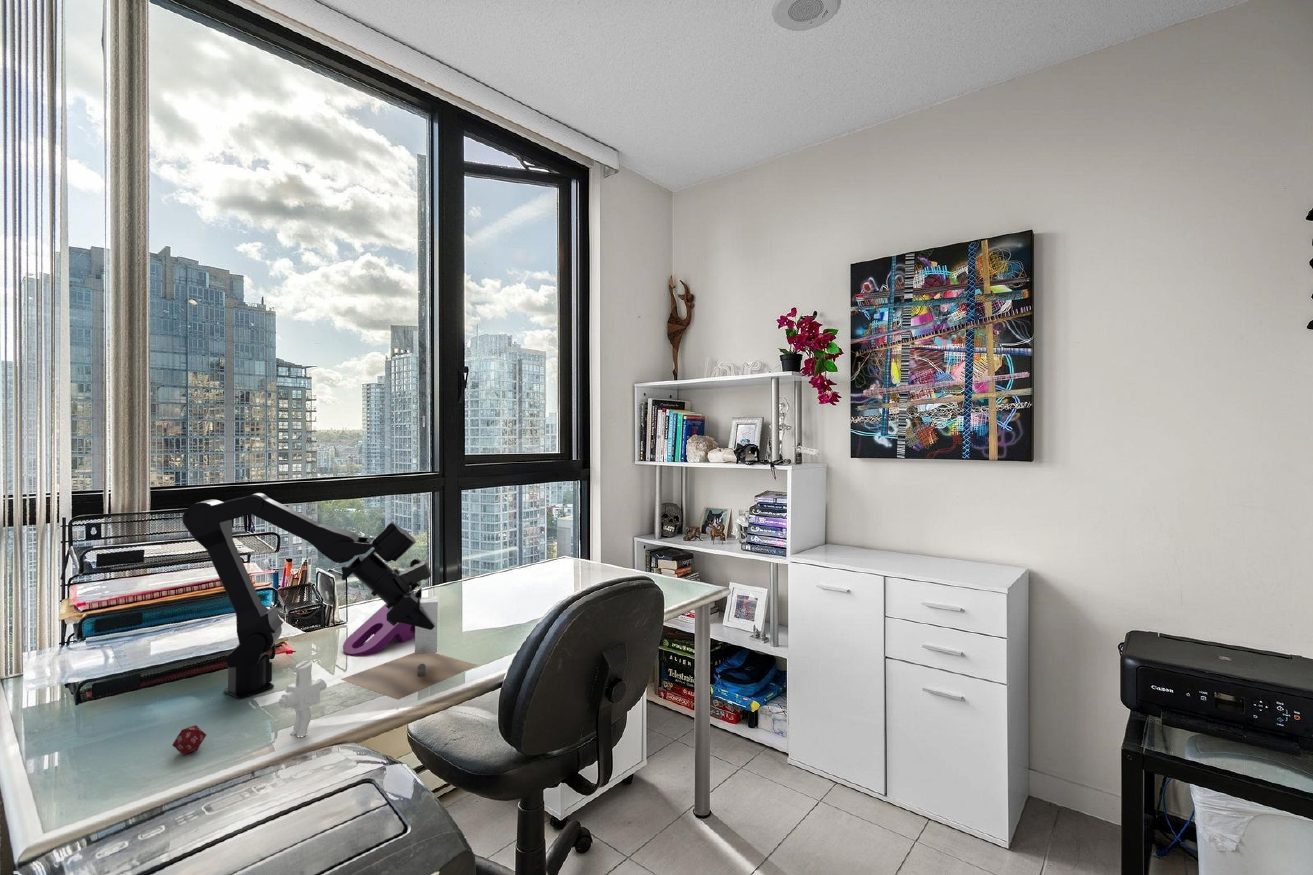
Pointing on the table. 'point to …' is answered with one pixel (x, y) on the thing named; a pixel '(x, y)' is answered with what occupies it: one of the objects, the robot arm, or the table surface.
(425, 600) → the block
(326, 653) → the table surface
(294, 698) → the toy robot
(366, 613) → the table surface
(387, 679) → the stub board
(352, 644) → the mounting bracket
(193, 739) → the dice
